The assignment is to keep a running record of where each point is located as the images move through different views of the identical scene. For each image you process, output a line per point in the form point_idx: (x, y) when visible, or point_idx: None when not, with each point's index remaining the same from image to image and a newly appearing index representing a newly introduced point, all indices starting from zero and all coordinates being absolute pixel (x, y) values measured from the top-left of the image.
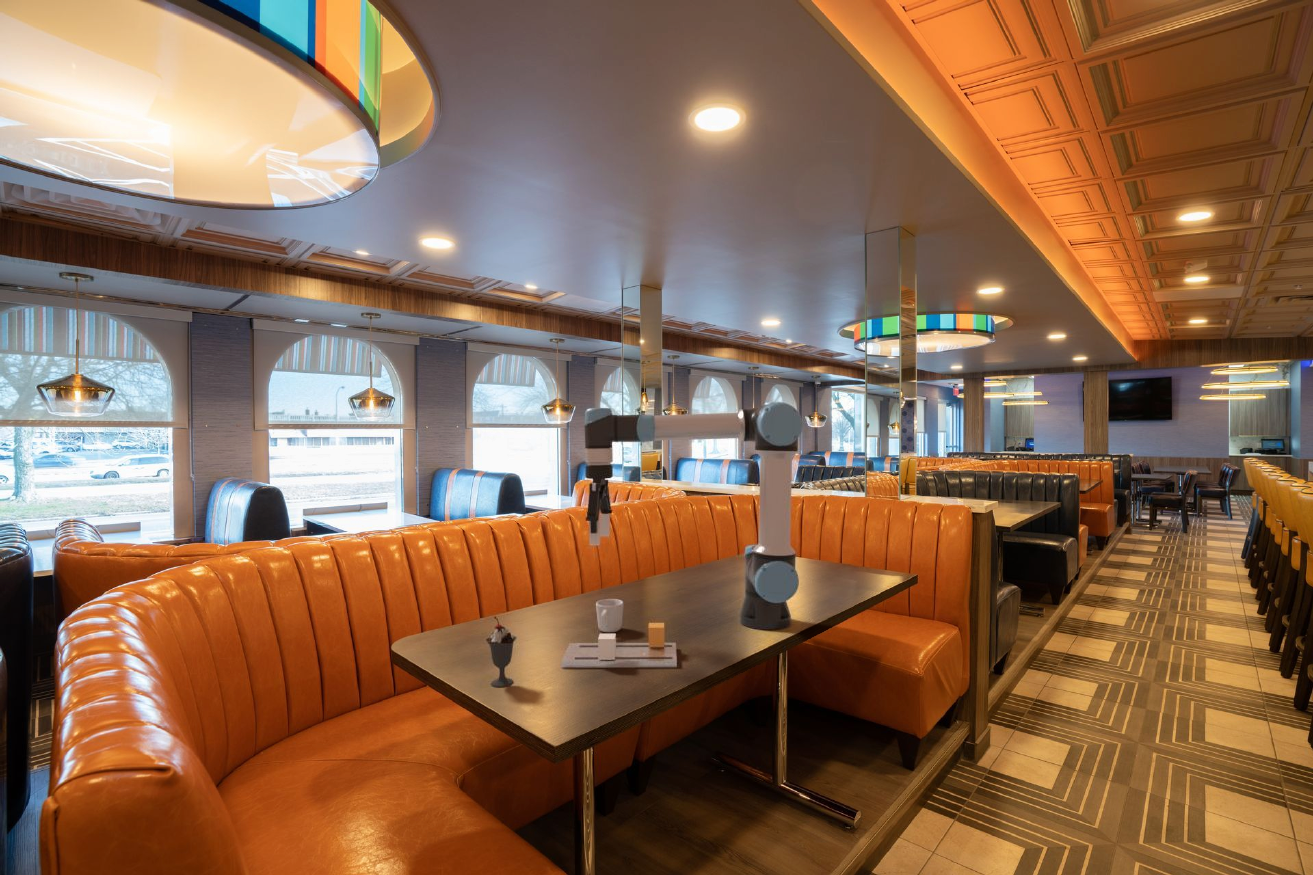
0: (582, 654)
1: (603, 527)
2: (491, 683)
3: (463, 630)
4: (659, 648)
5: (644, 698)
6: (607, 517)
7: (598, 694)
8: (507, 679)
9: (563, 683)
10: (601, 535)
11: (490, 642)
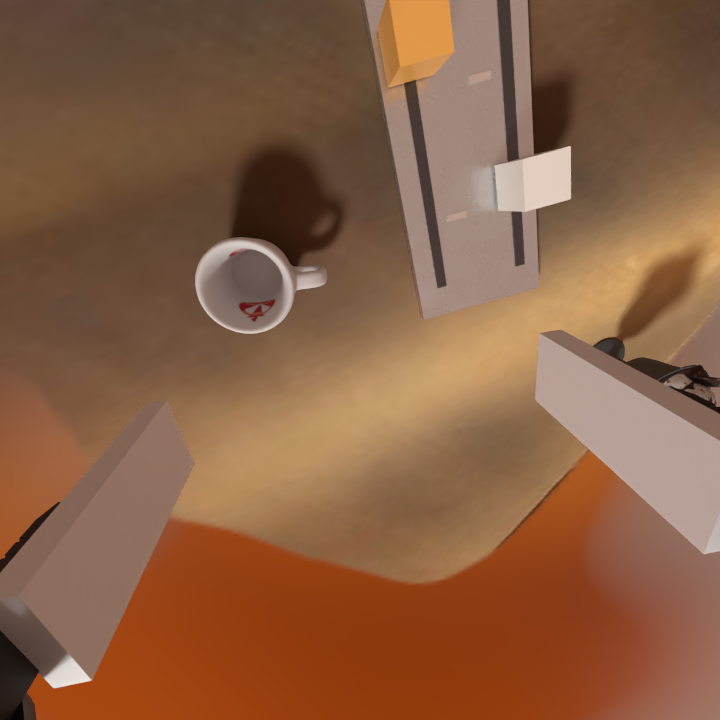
0: (494, 257)
1: (153, 497)
2: None
3: (359, 546)
4: None
5: (710, 5)
6: (66, 561)
7: (673, 140)
8: (607, 350)
9: (612, 243)
10: (187, 460)
11: None
